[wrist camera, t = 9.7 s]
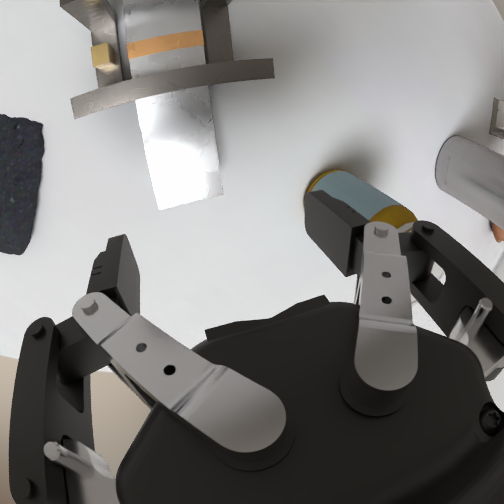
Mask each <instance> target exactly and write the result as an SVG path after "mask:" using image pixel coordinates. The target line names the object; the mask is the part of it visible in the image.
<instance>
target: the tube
mask: <svg viewBox="0 0 504 504" xmlns="http://www.w3.org/2000/svg"><path fill="white" fill-rule="evenodd" d="M123 10H124V21H125V31H126V40H127V52H128V59H129V63H130V70H131V77H132V79H134V78H138V77H142V76H146V75H150V74H154V73H159V72H164V71H169V70H174V69H179V68H185V67H191V66H197V65H204V64H206V61H205V53H204V40H203V31H202V27H201V18H200V9H199V0H123ZM135 101H136V107H137V112H138V118H139V123H140V128H141V133H142V138H143V143H144V147H145V152H146V157H147V161H148V166H149V170H150V174H151V178H152V183H153V187H154V191H155V195H156V199H157V203H158V207H159V210H161V209H165V208H169V207H172V206H176V205H180V204H184V203H189V202H193V201H197V200H201V199H205V198H210V197H214V196H218V195H223V188H222V181H221V174H220V167H219V160H218V153H217V146H216V138H215V131H214V124H213V116H212V109H211V101H210V93H209V85H206V86H199V87H193V88H188V89H182V90H177V91H172V92H168V93H163V94H158V95H154V96H150V97H146V98H142V99H138V100H135Z"/></svg>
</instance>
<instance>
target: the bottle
mask: <svg viewBox="0 0 504 504" xmlns="http://www.w3.org/2000/svg"><path fill="white" fill-rule="evenodd" d="M317 190H324V191H325V192H326V193H328V194H329V195H330V196H332V197H333V198H336V199H339V200H341V201H344V202H345V203H347V204H348V205H349V206H350V207H352V208H353V209H355V210H356V212H358V213H360V214H361V215H362V216H364V217H365V218H366V219H368V220H369V221H370V222H376V221H378V222H385V223H388V224H390V225H392V226H394V227H395V228H396V229H397V231H398V233H404V232H411V231H412V226H413V223H414V222H416V221H418V220H417V218H416V217H415V215H414V214H413V213H412V212H411V211H410V210H408V209H407V208H406V207H404V206H403V205H401V204H400V203H398V202H397V201H395V200H394V199H392V198H390V197H389V196H387V195H386V194H384V193H382V192H381V191H379V190H378V189H376V188H374V187H373V186H371V185H369V184H368V183H366V182H364V181H363V180H361V179H359V178H357V177H356V176H354V175H352V174H350V173H348V172H346V171H344V170H338V169H335V170H330V171H327V172H325V173H323V174H322V175H320V176H319V177H318V178H317V179H316V180H315V181H314V182H313V183H312V184H311V186H310V188H309V190H308V192H311V191H317ZM304 206H305V205H304ZM431 273H432V274H433V275H434V276H435V277H436V278H437V279H438V280H439V281H440V280H441V278H442V277H443V275H444V273H445V272H444V270H443V269H442V268H441V267H440V266H439V265H438V264H437V263H436V262H434V265H433V268H432V271H431ZM417 303H419V302H418V301H417V300H416V299H415V298H414V297H413V295H412V294H411V305H412V306H413V305H415V304H417Z"/></svg>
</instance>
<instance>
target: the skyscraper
mask: <svg viewBox="0 0 504 504" xmlns="http://www.w3.org/2000/svg"><path fill="white" fill-rule="evenodd" d="M490 134H492V135H495V136H497V137H499V138H502V139H504V101H500V100H497V99H496V98H494V103H493V112H492V119H491V126H490Z"/></svg>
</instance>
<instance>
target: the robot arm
mask: <svg viewBox="0 0 504 504" xmlns="http://www.w3.org/2000/svg"><path fill="white" fill-rule="evenodd" d="M436 181H437V184H438V186H439V188H440V189H441V190H442V191H444V192H446V193H448V194H449V195H451V196H453V197H454V198H456V199H457V200H459V201H460V202H462V203H464V204H465V205H467V206H468V207H470V208H472V209H473V210H475V211H476V212H478V213H479V214H481V215H482V216H484V217H485V218H487V219H488V220H490V221H491V222H493V223H494V224H495V225H497V226H498V227H500V228H501V229H502V230H504V156H502V155H500V154H498V153H496V152H494V151H492V150H490V149H488V148H485V147H483V146H481V145H479V144H477V143H474V142H472V141H469V140H467V139H465V138H462V137H460V136H453V137H451V138H449V139H448V140H447V141H446V142H445V144H444V145H443V147H442V149H441V151H440V153H439V156H438V159H437V164H436ZM305 228H306V231H307V234H308V235H309V237H310V238H311V239H312V240H313V241H314V242H315V243H316V244H317V245H318V247H319V248H320V249H321V250H322V251H323V252H324V253H325V254H326V255H327V257H328V258H329V259H330V260H331V261H332V262H333V263H334V264H335V266H336V267H337V268H338V269H339V270H340V271H341V272H342V274H343V275H344V276H345V277H348V276H351V275H354V274H357V281H356V289H355V297H354V304H353V303H347V302H329V301H328V299H327V298H326V297H325V295H322V296H318V297H315V298H312V299H309V300H306V301H303V302H300V303H297V304H295V305H293V306H292V307H290V308H288V309H286V310H285V311H283V312H281V313H279V314H277V315H276V316H274V317H272V318H269V319H260V320H249V321H237V322H232V323H229V324H225V325H221V326H218V327H214V328H210V329H206V330H205V333H206V337H207V339H206V340H204V341H203V342H201V343H199V344H198V345H196V346H195V347H193V348H192V349H191V350H190V349H188V348H187V347H185V346H184V345H182V344H181V343H179V342H178V341H176V340H175V339H174V338H172V337H171V336H169V335H168V334H166V333H165V332H163V331H162V330H161V329H159V328H158V327H156V326H155V325H154V324H152V323H151V322H149V321H148V320H147V319H145V318H144V317H143V316H141V315H140V274H139V269H138V266H137V263H136V260H135V257H134V255H133V252H132V249H131V246H130V244H129V241H128V238H127V236H126V235H125V234H123V235H119V236H116V237H112V238H109V239H108V243H107V247H106V251H104V252H100V254H99V255H98V256H97V258H96V259H95V260H94V264H93V267H92V269H93V270H92V272H91V276H90V280H89V284H88V289H87V293H86V295H85V296H83V297H82V298H80V299H79V300H78V301H77V302H76V304H75V305H74V307H73V310H72V315H73V316H72V317H70V318H69V319H67V320H65V321H63V322H61V323H59V324H57V325H55V323H54V322H53V321H52V319H51V318H49V317H42V318H39V319H37V320H36V321H34V322H33V323H32V324H31V325H30V326H29V327H28V328H27V330H26V332H25V335H24V339H23V343H22V347H21V352H20V357H19V362H18V367H17V373H16V379H15V385H14V392H13V399H12V408H11V419H10V433H9V482H10V491H11V494H12V497H13V499H14V501H15V502H16V504H504V412H502V411H501V410H500V409H499V408H498V407H497V406H496V404H495V403H494V401H493V399H492V397H491V395H490V392H489V390H488V387H487V384H486V381H491V380H493V379H495V378H496V376H497V375H498V374H499V373H500V372H501V370H502V369H503V368H504V283H503V282H502V281H501V280H500V279H499V278H498V277H497V276H496V275H495V274H494V273H493V272H492V271H491V270H490V269H488V268H487V267H486V266H485V265H484V264H483V263H482V262H481V261H480V260H478V259H477V258H476V257H475V256H474V255H473V254H472V253H470V252H469V251H468V250H467V249H466V248H465V247H463V246H462V245H461V244H460V243H459V242H457V241H456V240H455V239H454V238H452V237H451V236H450V235H449V234H447V233H446V232H445V231H444V230H442V229H441V228H440V227H439V226H437V225H436V224H434V223H431V222H428V221H416V222H414V223H413V226H412V231H411V232H404V233H398V231H397V229H396V228H395V227H394V226H392V225H390V224H388V223H385V222H378V221H376V222H370V221H369V220H368V219H366V218H365V217H364V216H362V215H361V214H360V213H358V212H356V210H355V209H353V208H352V207H350V206H349V205H348V204H347V203H345V202H344V201H341V200H339V199H336V198H333V197H332V196H330V195H329V194H328V193H326V192H325V191H324V190H317V191H311V192H307V193H306V194H305ZM434 262H436V263H437V264H438V265H439V266H440V267H441V268H442V269H443V270H444V272H445V275H446V281H445V284H444V285H443V284H442V283H441V282H440V281H439V280H438V279H437V278H436V277H435V276H434V275H433V274H432V273H431V271H432V268H433V265H434ZM411 294H412V295H413V297H414V298H415V299H416V300H417V301H418V302H419V303H420V305H421V306H422V307H423V308H424V309H425V311H426V312H427V313H428V314H429V315H430V316H431V318H432V319H433V320H434V321H435V323H436V324H437V325H438V326H439V327H440V329H441V330H442V331H443V332H444V334H445V335H446V336H447V337H445V336H442V335H440V334H437V333H434V332H431V331H429V330H426V329H423V328H420V327H418V326H415V325H414V324H413V321H412V305H411ZM105 366H108V367H109V368H110V369H111V370H112V371H113V372H114V373H115V374H116V375H117V376H118V377H119V378H120V379H121V380H122V381H123V382H124V383H125V384H126V385H127V386H128V387H129V388H130V389H131V390H132V391H133V392H134V393H135V394H136V395H137V396H138V397H139V398H140V399H141V400H142V401H143V402H144V403H145V404H146V405H147V406H148V407H149V408H150V409H151V412H150V413H149V415H148V417H147V419H146V420H145V422H144V424H143V425H142V427H141V429H140V431H139V432H138V434H137V436H136V438H135V439H134V441H133V443H132V444H131V446H130V448H129V450H128V452H127V453H126V455H125V457H124V458H123V460H122V462H121V464H120V466H119V468H118V471H117V475H116V479H115V478H114V477H113V475H112V473H111V471H110V468H109V465H108V463H107V461H106V460H105V459H104V458H103V457H102V456H101V455H99V454H98V453H96V452H95V449H94V439H93V428H92V414H91V395H90V394H91V393H90V374H91V373H93V372H95V371H97V370H99V369H101V368H103V367H105Z"/></svg>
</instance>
